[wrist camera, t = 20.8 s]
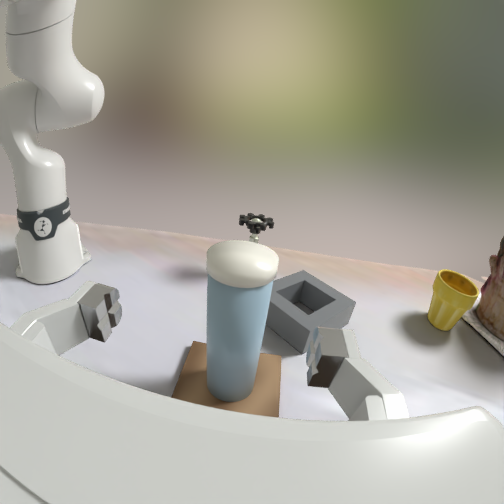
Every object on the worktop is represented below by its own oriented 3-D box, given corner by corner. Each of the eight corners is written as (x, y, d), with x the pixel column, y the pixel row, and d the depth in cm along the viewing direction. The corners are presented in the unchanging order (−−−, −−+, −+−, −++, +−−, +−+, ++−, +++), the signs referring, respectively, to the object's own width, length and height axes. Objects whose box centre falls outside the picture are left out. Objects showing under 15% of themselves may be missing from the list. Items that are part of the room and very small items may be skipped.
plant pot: (450, 344, 39) (474, 302, 35) (412, 317, 47) (431, 275, 42) (463, 325, 45) (482, 287, 40) (429, 302, 52) (446, 265, 48)
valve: (271, 282, 54) (281, 224, 49) (239, 286, 51) (246, 226, 46) (257, 266, 59) (264, 212, 54) (228, 269, 56) (233, 213, 51)
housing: (249, 310, 45) (253, 288, 43) (298, 290, 52) (303, 270, 50) (302, 354, 37) (310, 331, 35) (347, 323, 44) (356, 302, 42)
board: (166, 416, 25) (165, 411, 25) (193, 345, 36) (193, 340, 35) (275, 436, 24) (277, 432, 24) (280, 360, 35) (281, 355, 35)
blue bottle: (196, 377, 30) (193, 248, 22) (234, 358, 33) (248, 235, 26) (224, 411, 26) (235, 282, 18) (264, 388, 29) (293, 262, 22)
